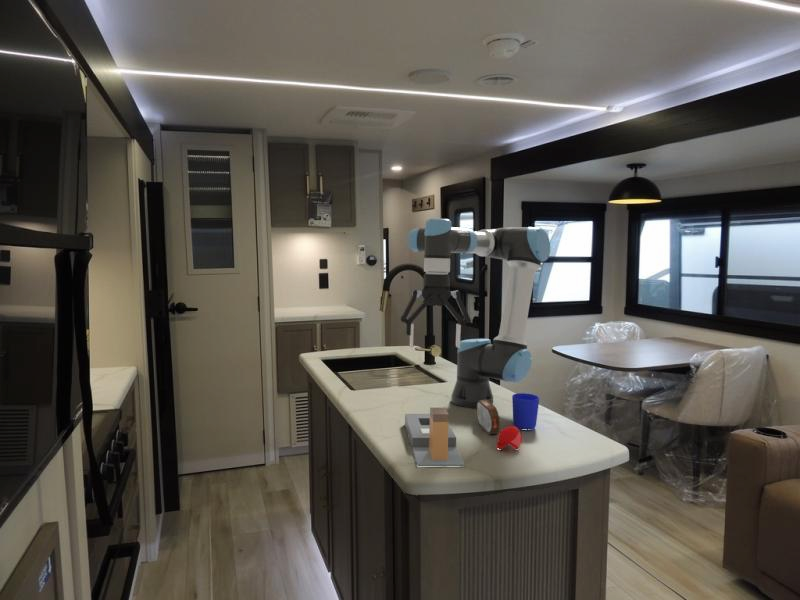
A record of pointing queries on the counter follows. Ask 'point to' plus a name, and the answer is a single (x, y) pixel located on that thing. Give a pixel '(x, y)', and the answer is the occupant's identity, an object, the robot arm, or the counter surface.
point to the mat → (426, 460)
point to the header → (423, 430)
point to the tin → (488, 417)
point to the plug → (438, 433)
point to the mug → (525, 410)
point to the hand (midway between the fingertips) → (434, 346)
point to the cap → (509, 437)
